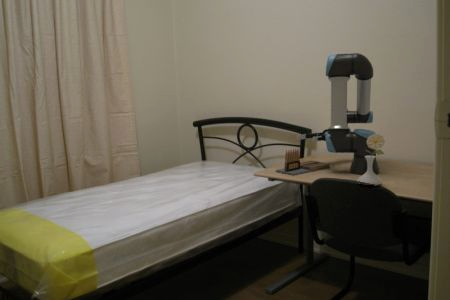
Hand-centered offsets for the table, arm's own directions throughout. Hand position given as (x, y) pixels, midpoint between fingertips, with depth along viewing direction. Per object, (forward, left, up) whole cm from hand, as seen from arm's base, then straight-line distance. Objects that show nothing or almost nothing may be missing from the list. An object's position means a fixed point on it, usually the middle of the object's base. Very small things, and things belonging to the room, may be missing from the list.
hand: (305, 138), depth 243 cm
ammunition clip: (-1, +11, -17) cm, 20 cm away
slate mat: (-1, +11, -18) cm, 21 cm away
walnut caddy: (-1, -4, -18) cm, 18 cm away
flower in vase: (-49, +6, -18) cm, 53 cm away
